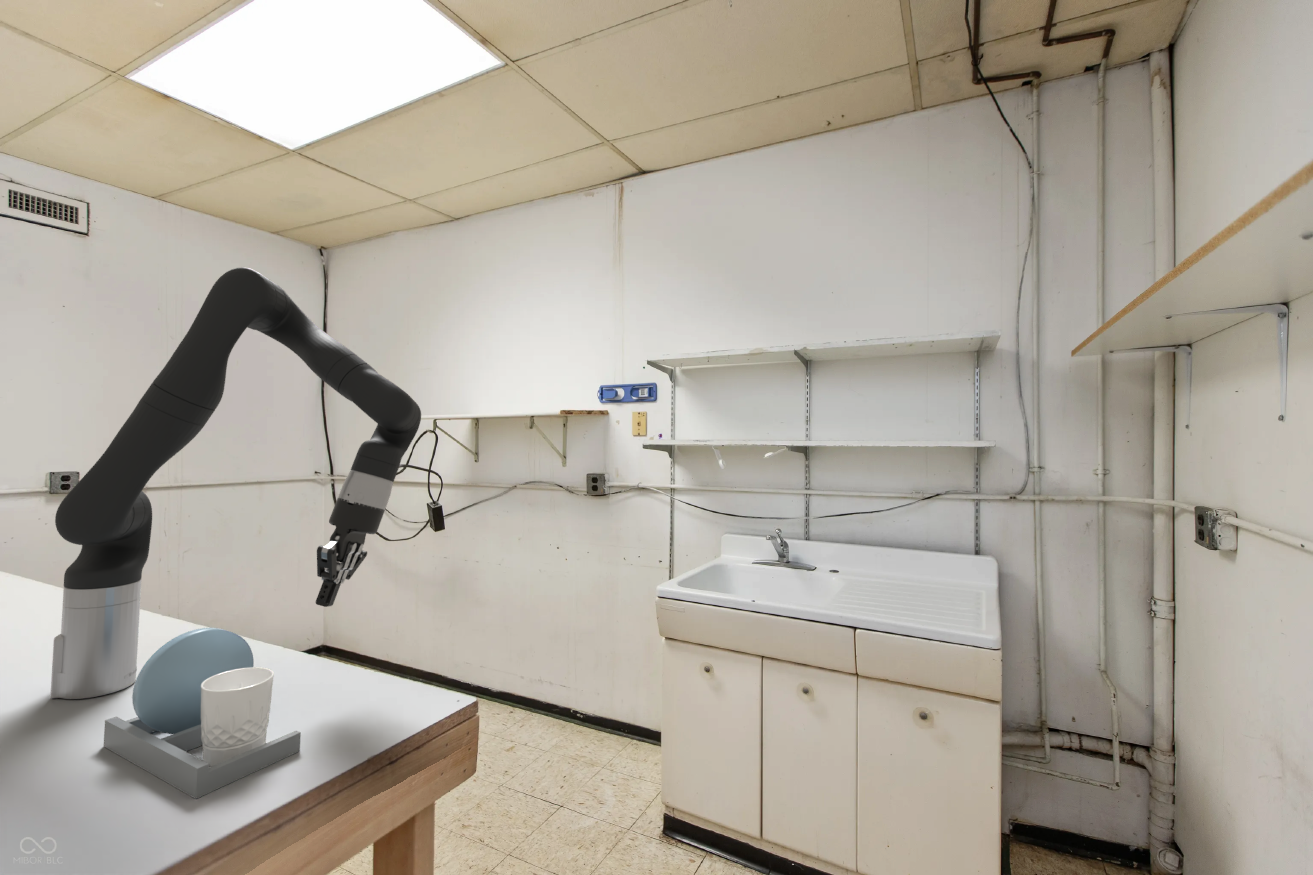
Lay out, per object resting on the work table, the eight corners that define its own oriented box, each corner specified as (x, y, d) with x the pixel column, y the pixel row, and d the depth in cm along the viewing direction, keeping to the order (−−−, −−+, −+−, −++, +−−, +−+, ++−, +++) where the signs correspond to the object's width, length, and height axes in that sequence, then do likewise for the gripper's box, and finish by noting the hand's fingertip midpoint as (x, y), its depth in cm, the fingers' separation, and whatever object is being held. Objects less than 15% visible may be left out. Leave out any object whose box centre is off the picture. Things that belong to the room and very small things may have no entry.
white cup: (209, 777, 70) (213, 696, 71) (187, 756, 75) (191, 679, 75) (280, 751, 77) (284, 677, 77) (255, 732, 81) (259, 662, 82)
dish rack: (230, 702, 90) (234, 613, 90) (322, 740, 80) (327, 639, 80) (103, 746, 76) (109, 640, 77) (195, 798, 66) (202, 677, 67)
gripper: (358, 501, 103) (321, 598, 98) (320, 491, 90) (276, 601, 86) (398, 511, 103) (363, 608, 98) (366, 502, 90) (325, 614, 86)
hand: (323, 605), depth 92 cm, fingers closed
